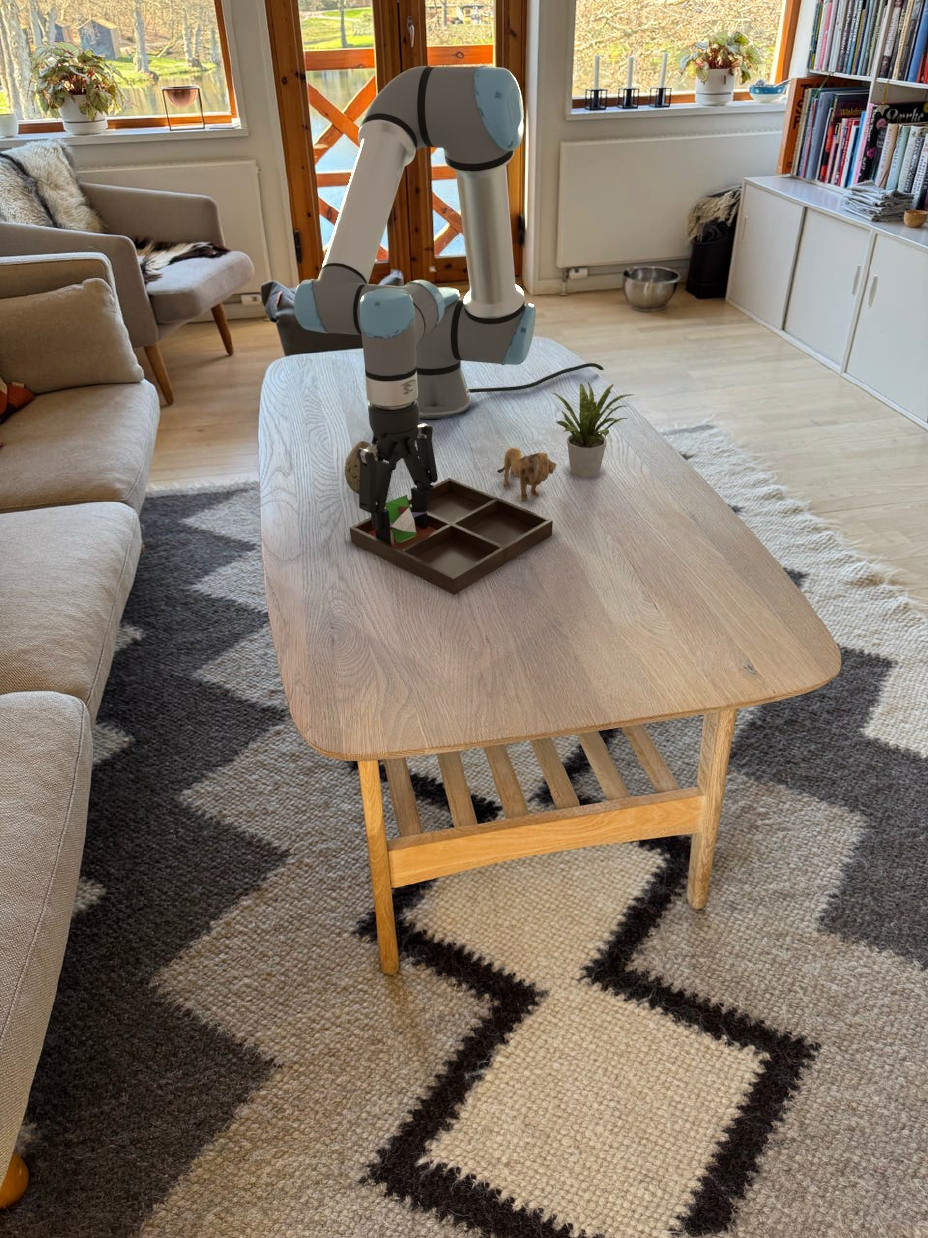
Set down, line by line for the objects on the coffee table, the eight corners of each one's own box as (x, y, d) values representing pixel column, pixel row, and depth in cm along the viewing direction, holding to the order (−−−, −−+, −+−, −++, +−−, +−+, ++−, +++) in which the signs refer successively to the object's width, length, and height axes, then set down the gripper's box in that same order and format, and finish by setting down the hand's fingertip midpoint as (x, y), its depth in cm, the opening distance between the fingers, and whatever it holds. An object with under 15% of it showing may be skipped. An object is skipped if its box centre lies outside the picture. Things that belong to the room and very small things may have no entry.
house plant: (647, 478, 169) (656, 390, 159) (586, 498, 163) (591, 409, 153) (597, 449, 179) (602, 366, 169) (537, 468, 173) (539, 382, 163)
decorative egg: (382, 482, 170) (378, 430, 164) (392, 499, 164) (388, 446, 158) (343, 488, 168) (337, 436, 162) (352, 506, 162) (346, 453, 157)
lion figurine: (559, 501, 162) (561, 453, 157) (534, 510, 160) (535, 461, 155) (508, 470, 172) (508, 424, 167) (484, 478, 170) (484, 431, 165)
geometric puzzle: (365, 519, 153) (379, 494, 146) (400, 505, 156) (415, 481, 149) (387, 556, 151) (402, 533, 145) (422, 542, 155) (438, 519, 148)
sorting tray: (449, 491, 166) (449, 477, 164) (552, 535, 153) (552, 520, 151) (350, 542, 152) (349, 527, 151) (454, 595, 139) (453, 579, 138)
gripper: (358, 428, 131) (371, 568, 144) (458, 386, 143) (462, 519, 156) (323, 414, 135) (339, 552, 148) (423, 374, 147) (430, 505, 160)
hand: (402, 535), depth 152 cm, fingers closed on geometric puzzle, 7 cm apart
